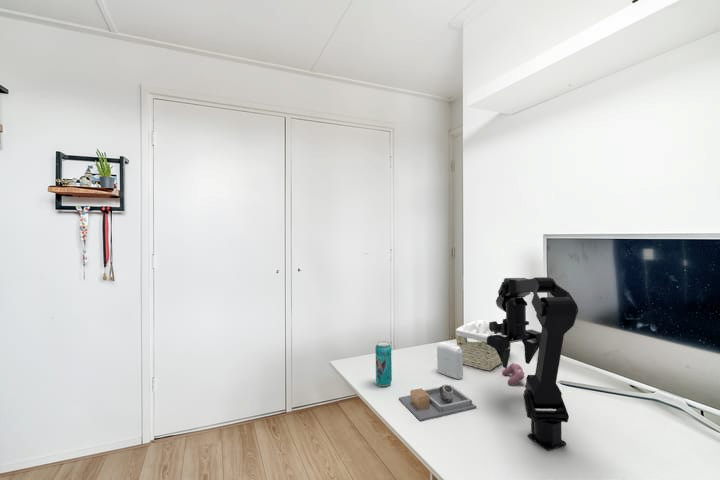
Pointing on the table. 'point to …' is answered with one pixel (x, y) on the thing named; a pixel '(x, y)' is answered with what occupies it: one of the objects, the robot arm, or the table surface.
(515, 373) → the video game controller
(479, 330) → the storage basket
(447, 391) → the wristwatch
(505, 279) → the robot arm
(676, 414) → the table surface
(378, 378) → the beverage can
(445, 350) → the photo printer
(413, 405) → the grey tray
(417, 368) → the table surface
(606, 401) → the table surface
